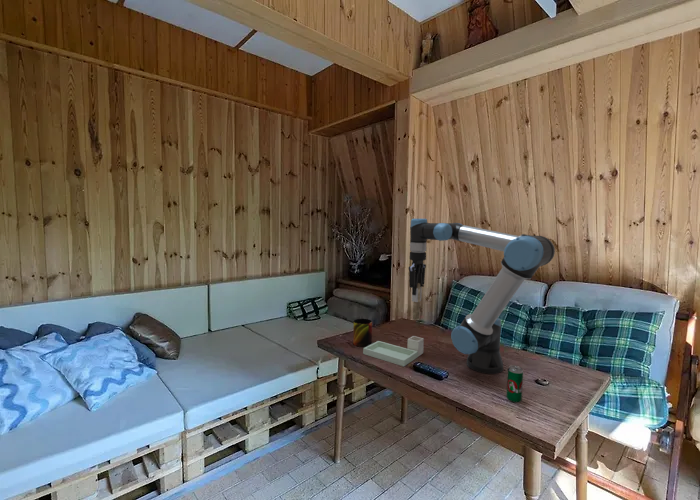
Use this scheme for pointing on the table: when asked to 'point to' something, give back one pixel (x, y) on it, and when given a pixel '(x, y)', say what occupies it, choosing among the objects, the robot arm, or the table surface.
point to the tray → (390, 353)
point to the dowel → (416, 305)
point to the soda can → (514, 383)
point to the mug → (362, 332)
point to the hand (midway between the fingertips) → (416, 300)
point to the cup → (416, 344)
